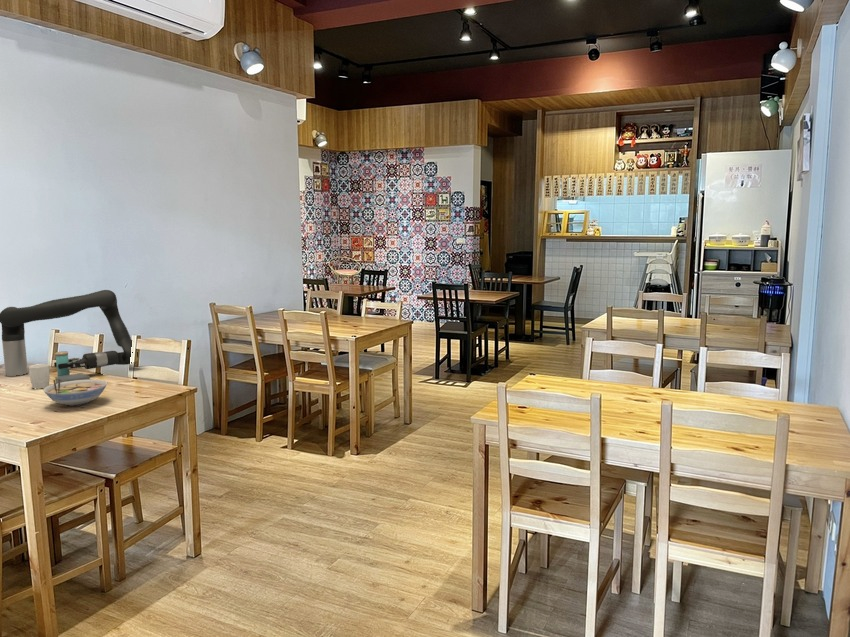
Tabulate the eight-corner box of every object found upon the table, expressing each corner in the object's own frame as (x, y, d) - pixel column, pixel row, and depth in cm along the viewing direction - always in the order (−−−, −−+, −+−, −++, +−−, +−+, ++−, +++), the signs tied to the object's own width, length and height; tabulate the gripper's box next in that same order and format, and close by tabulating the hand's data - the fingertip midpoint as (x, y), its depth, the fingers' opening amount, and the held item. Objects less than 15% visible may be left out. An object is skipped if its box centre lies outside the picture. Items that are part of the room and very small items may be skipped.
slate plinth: (55, 384, 285) (55, 376, 284) (81, 380, 292) (81, 372, 292) (63, 388, 277) (63, 380, 277) (90, 383, 285) (89, 376, 285)
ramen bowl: (110, 407, 247) (109, 387, 246) (43, 415, 236) (41, 394, 235) (107, 393, 269) (105, 374, 268) (45, 400, 258) (43, 381, 256)
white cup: (55, 385, 283) (53, 363, 281) (42, 389, 275) (40, 367, 273) (38, 385, 283) (37, 363, 282) (26, 389, 276) (24, 367, 274)
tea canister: (56, 379, 293) (53, 352, 291) (68, 377, 296) (65, 350, 295) (59, 381, 289) (57, 353, 287) (71, 379, 293) (69, 352, 291)
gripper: (89, 350, 306) (50, 355, 294) (100, 354, 297) (60, 360, 284) (90, 365, 308) (52, 371, 295) (101, 370, 298) (62, 376, 286)
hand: (56, 365), depth 290 cm, fingers closed on tea canister, 5 cm apart
